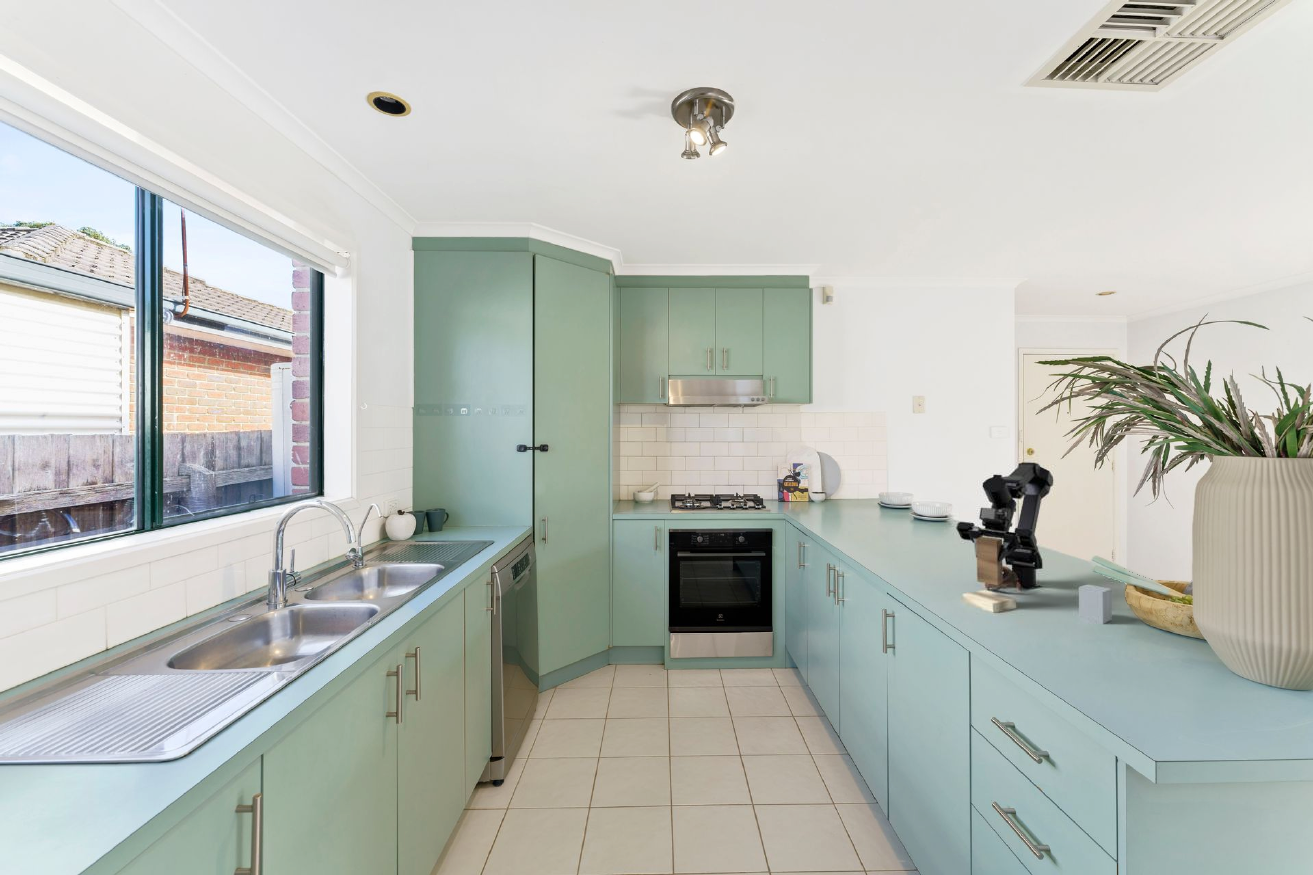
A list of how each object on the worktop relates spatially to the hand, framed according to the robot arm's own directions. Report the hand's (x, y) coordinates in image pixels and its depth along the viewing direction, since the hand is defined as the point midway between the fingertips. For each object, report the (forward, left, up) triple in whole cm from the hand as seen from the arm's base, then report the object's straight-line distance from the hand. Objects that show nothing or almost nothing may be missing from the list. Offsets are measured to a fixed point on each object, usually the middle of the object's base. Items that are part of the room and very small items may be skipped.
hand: (987, 559), depth 147 cm
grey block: (-16, +17, -13) cm, 27 cm away
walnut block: (-1, 0, -7) cm, 7 cm away
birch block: (-1, -1, -14) cm, 14 cm away
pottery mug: (-18, -10, -14) cm, 25 cm away
